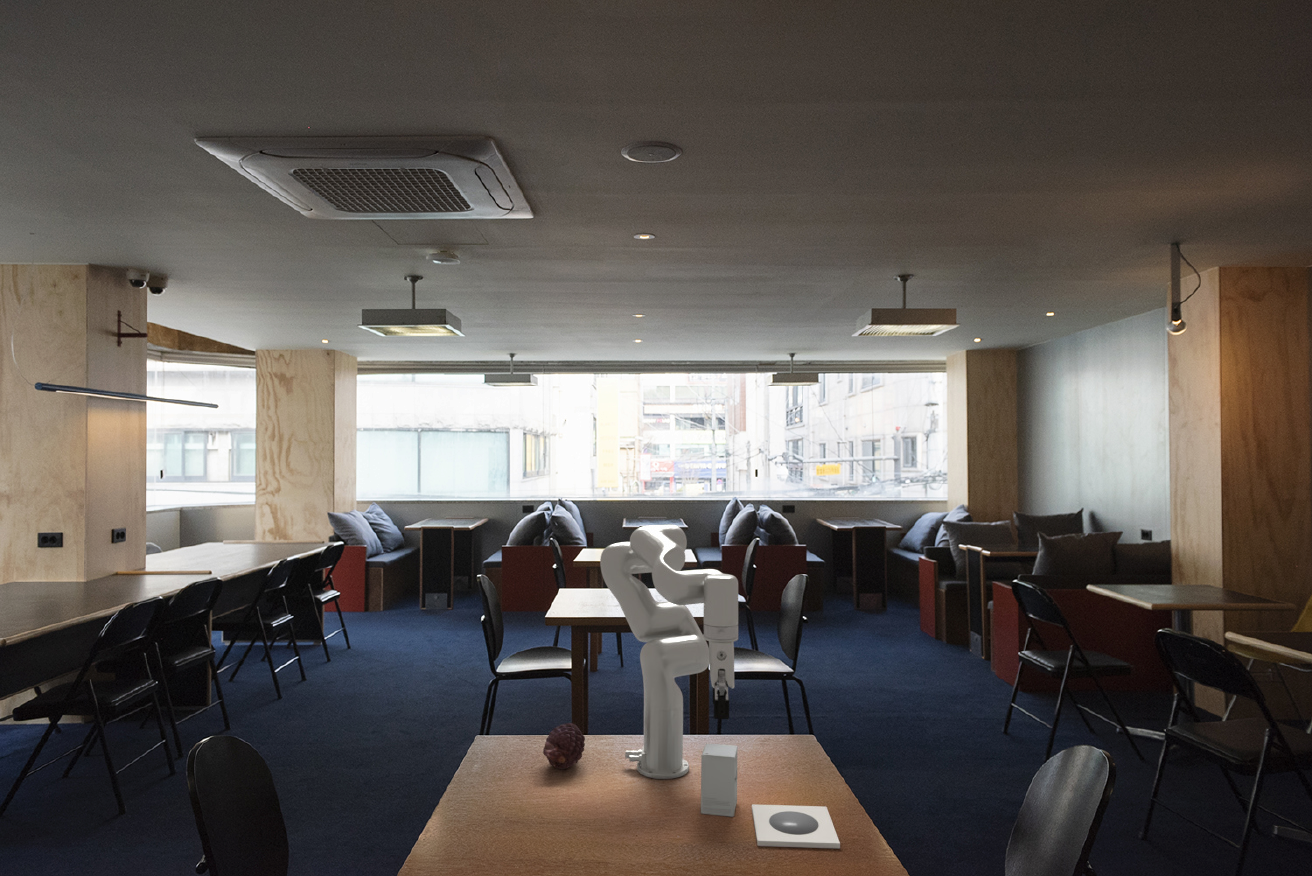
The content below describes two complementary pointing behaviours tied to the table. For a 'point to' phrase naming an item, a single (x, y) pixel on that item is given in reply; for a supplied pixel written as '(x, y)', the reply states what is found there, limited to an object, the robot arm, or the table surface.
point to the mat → (794, 826)
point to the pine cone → (564, 746)
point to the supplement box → (719, 779)
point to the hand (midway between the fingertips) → (720, 711)
